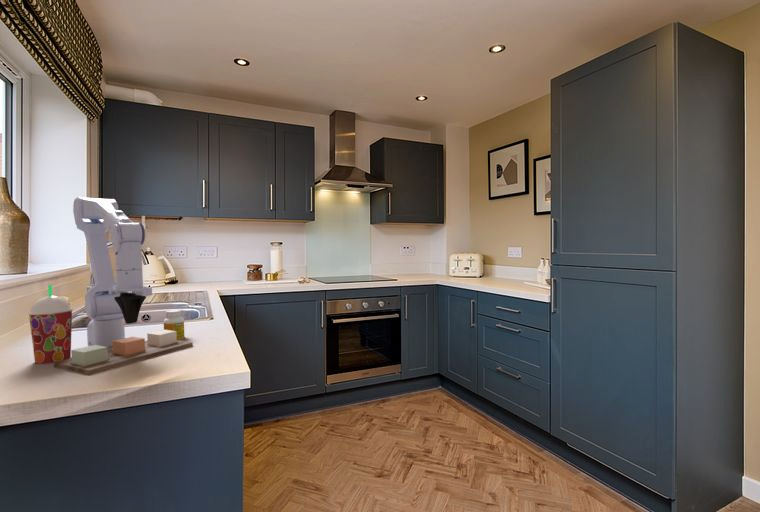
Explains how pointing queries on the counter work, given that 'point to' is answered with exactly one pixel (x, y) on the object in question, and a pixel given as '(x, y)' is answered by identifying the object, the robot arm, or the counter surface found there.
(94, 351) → the key sage
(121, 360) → the brown rectangular tray
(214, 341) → the counter surface
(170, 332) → the key cream
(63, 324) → the smoothie
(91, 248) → the robot arm
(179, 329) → the supplement bottle
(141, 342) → the key terracotta
